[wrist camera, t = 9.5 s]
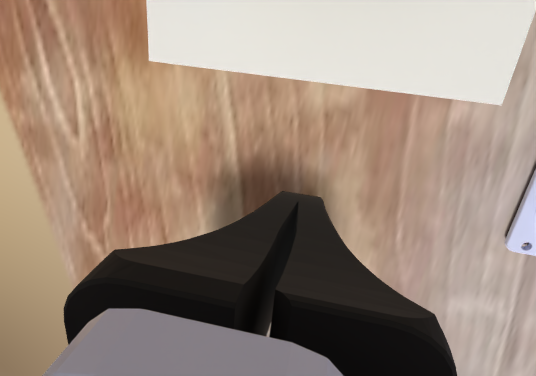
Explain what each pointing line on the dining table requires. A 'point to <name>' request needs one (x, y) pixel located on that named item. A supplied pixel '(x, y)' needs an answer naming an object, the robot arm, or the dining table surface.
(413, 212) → the dining table surface
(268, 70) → the base
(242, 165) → the dining table surface
